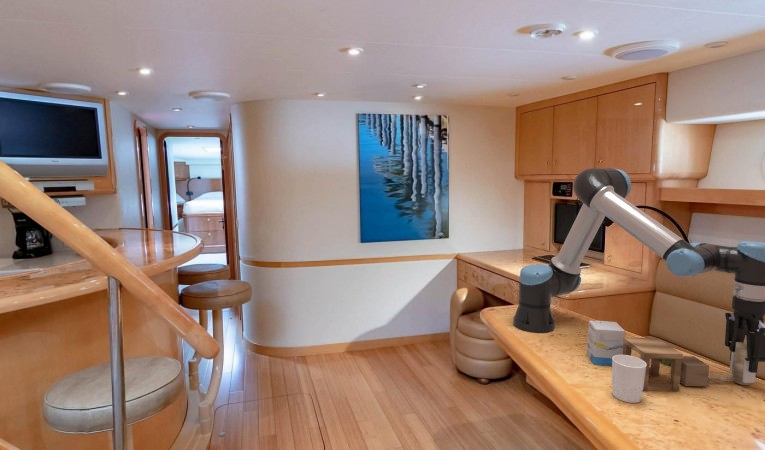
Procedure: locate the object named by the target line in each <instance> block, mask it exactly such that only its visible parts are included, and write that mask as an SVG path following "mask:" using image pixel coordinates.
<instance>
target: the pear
mask: <svg viewBox="0 0 765 450" xmlns="http://www.w3.org/2000/svg"><path fill="white" fill-rule="evenodd" d="M660 362H661V364H663V365H664V366H667V367H671V362H672V359H663V358H660Z"/></svg>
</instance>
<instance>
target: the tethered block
mask: <svg viewBox="0 0 765 450" xmlns="http://www.w3.org/2000/svg"><path fill="white" fill-rule="evenodd" d="M753 357H754V356H753ZM745 358H748V356H747V341H746V342H745V341H744V342H736V348H735V357H734V367H733V375H732V376H709V372H710V365H709V364H707V363H705V362H704V361H703V360H700V359H699V358H697V357H696V356H692V355H690V356H689V355H688V356H687V355H683V358H682V363H681V374H680V384H682V385H683V386H684V387H708V381H721V382H722V381H725V382H726V381H728V382H730V381H731V382H734V383H736V384H740V385H743V386H750V385H751V384H752V383H744V382H743V381H742V380H743V370H744V361H745Z"/></svg>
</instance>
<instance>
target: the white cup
mask: <svg viewBox="0 0 765 450" xmlns="http://www.w3.org/2000/svg"><path fill="white" fill-rule="evenodd" d="M646 366H647V364H646V362H645V361H643V360H641V359H640V358H639V357H636V356H634V355H633V356H632V355H631V356H629V355H615V356H613V357H612V366H611V385H612V389H611V390H612V395H613V396H614V398H615V399H617V400H620V401H622V402H625V403H629V404H630V403H631V404H637V403H640V402H641V401H642V398H643V397H642V396H643V392H644V391H643V387H644V381H645V373H646Z"/></svg>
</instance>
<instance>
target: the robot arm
mask: <svg viewBox="0 0 765 450" xmlns="http://www.w3.org/2000/svg"><path fill="white" fill-rule="evenodd" d="M572 185H573V186H572V187H573V192H574V195H575V196H576V197H577V199H578V200H579V201H580V202H582V205H581V208H580V209H579V211H578V214H577V216H576V218H575V220H574V222H573V224H572V226H571V228H570V230H569V232H568V234H567V236H566V238H565V240H564V242H563V244H562V246H561V248H560V250H559V252H558V254H557V255H556V256H553V257H552V258H551V260H550V261H549V263H548V265H547V264H542V263H541V264H528V265H525V266H523V267H522V268H521V269H520V273H519V278H518V279H519V281H518V282H519V285H518V287H519V288H518V291H519V292H518V306H517V308H516V311H515V313H514V316H513V322H512V324H513V326H515V328H517V329H519V330H522V331H526V332H531V333H549V332H552V331H554V329H555V319H554V317H553V312H552V310H551V308H552V307H551V303H552V302H551V301H552V298H553V297H558V296H563V295H569V294H570V293H574V292H575V291H577V290H578V289H579V287H580V286H581V283H582V277H581V275H582V274H581V273H582V268H581V266H580V265H581V263H582V262H583V260H584V258H585V256H586V254H587V252H588V250H589V248H590V247H591V244H592V242H593V241H594V239H595V236H596V235H597V233H598V230H599V229H600V227H601V225H602V223H603V222H604V219H605V217H606V218H608V219H609V220H611V221H612V222H613V223H614V224H615V225H617V226H618V227H620V228H621V229H622V230H624V231H625V232H626V233H627V234H629V235H630V236H632V237H633V238H634V239H635V240H637V241H638V242H640V243H641V244H642V245H644V246H645V247H646V248H648V249H649V250H651V251H652V252H653V253H655V254H656V256H658V257H660V258H661V259H663V260H664V261H665V262H666V266H667V269H668V270H669V271H670V272H671V273H672V274H674V275H675V276H678V277H684V278H685V277H694V276H697V275H699V274H704V273H708V272H713V271H715V272H722V273H727V274H734V283H733V284H734V285H733V296H732V302H731V309H732V310H734V311H733V312H725V313H724V317H725V319H726V320H725V332H724V333H725V334H724V336H725V337H724V346H726V347H728V349H729V351H730V355H729V361H730V365H729V372H728V373H729V375H732V376H733V367H734V357H735V348H736V342H745V340H746V343H747V356H748V358H745V361H744V370H743V380H742V381H743V382H744V383H751V384H754V383H755V382H756V374H757V373H758V367H759V363H760V362H761V363H762V362H763V363H765V321H764V316H765V242H761V241H752V240H751V241H750V240H743V241H739V242H738V244H737V246H727V245H726V246H725V245H719V244H711V243H707V242H691V243H689V242H688V241H686V240H684V239H683V238H682V237H680V236H679V235H677V234H676V233H674V231H671V229H669V228H667V227H666V226H664V225H663V224H662V223H660V222H658V221H657V220H656V219H655V218H653V217H651V216H650V215H649V214H647V213H646V212H645V211H643V210H642V209H640V208H638V207H637V206H636V205H634V204H633V203H631V202H630V201H628V200H627V199H626V198H627V197H628V196H629V194H630V192H631V190H632V181H631V179H630V177H629V175H628V173H626V172H625V171H624V170H622V169H619V168H614V167H607V168H606V167H605V168H603V167H600V168H598V167H589V168H586V169H584V170H581V171H580V172H579V173H578V174H577V176H576V177H575V179H574V181H573V184H572ZM753 356H754V357H753Z"/></svg>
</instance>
